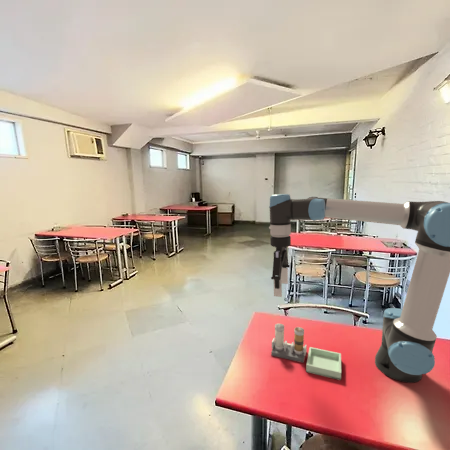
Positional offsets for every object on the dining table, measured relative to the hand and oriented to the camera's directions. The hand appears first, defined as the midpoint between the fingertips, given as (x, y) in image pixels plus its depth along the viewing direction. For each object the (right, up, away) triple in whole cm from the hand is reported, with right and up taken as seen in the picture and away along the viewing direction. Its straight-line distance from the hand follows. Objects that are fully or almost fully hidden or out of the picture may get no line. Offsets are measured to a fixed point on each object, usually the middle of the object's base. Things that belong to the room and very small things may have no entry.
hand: (281, 289), depth 103 cm
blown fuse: (+9, -28, +7) cm, 30 cm away
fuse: (+1, -27, +10) cm, 29 cm away
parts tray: (+17, -30, +1) cm, 34 cm away
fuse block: (+5, -29, +9) cm, 31 cm away
